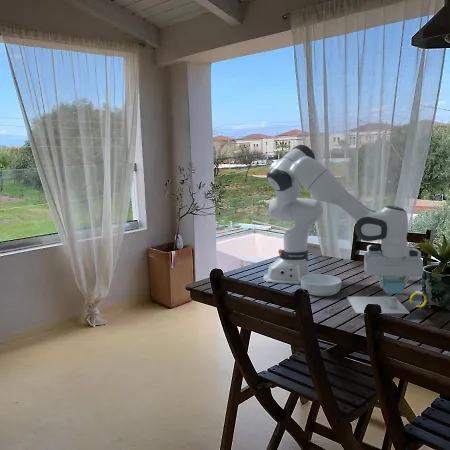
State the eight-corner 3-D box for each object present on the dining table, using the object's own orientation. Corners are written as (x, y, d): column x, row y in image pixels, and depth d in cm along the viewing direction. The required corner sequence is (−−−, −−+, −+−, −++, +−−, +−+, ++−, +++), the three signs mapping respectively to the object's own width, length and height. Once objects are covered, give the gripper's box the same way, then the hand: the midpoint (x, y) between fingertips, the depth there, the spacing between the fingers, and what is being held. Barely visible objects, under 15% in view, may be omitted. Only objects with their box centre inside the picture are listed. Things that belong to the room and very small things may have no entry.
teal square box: (386, 293, 158) (386, 281, 157) (382, 288, 164) (382, 276, 163) (403, 293, 158) (403, 281, 157) (398, 288, 163) (399, 276, 163)
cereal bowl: (315, 304, 174) (315, 287, 172) (293, 292, 189) (293, 277, 188) (349, 297, 180) (350, 281, 179) (325, 287, 195) (325, 272, 194)
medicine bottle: (381, 267, 227) (382, 244, 225) (378, 270, 221) (378, 247, 219) (367, 265, 230) (368, 243, 229) (363, 268, 225) (364, 246, 223)
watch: (423, 306, 169) (425, 291, 168) (426, 308, 166) (428, 293, 165) (408, 305, 169) (409, 290, 168) (410, 307, 166) (412, 292, 165)
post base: (356, 316, 158) (356, 303, 158) (346, 300, 177) (346, 288, 176) (410, 317, 157) (410, 303, 156) (394, 300, 175) (395, 288, 174)
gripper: (366, 252, 157) (365, 289, 159) (425, 252, 154) (424, 289, 156) (362, 248, 163) (362, 284, 165) (419, 248, 161) (418, 284, 163)
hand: (392, 287), depth 161 cm, fingers closed on teal square box, 6 cm apart
